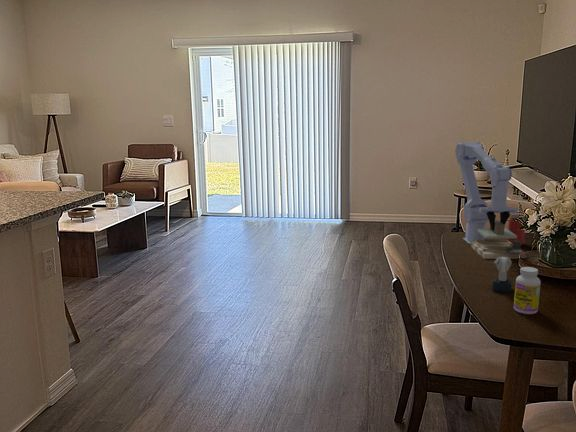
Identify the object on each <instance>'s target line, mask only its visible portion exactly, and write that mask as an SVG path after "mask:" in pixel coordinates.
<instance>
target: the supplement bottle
mask: <svg viewBox="0 0 576 432" xmlns="http://www.w3.org/2000/svg"><path fill="white" fill-rule="evenodd" d="M519 273H520V275H518V276H517V277H516V278H515V286H514V297H513V309H514V311H516V312H517V313H520V314H524V315H534V314H537V313H538V310H539V305H540V304H539V303H540V302H539V301H540V292H541V283H542V282H541V280H540V278H539V277H538V275H539V269H538V268H536V267H532V266H523V267H520V272H519Z"/></svg>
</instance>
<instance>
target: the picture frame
mask: <svg viewBox="0 0 576 432" xmlns="http://www.w3.org/2000/svg"><path fill="white" fill-rule="evenodd" d="M509 246H513V244H512V243H511V242H509V241H508V240H507V239H484V240H474V241H473V242H471V244H470V247H471V248H472V250H474V251H475V252H476V253H477V254H478V255H479V256H480V257H481V258H483V259H484V260H485V259H486V260H487V259H490V260H491V259H493V260H494V259H495V260H496V259H497V258H498V257H507V258H509V259H510V260H511V259H513V260H514V259H517V260H519V259H518V257H519V255H520V254H522V253H525V251H524V250H521V249H520V252H513V251H511V250H510V248H509Z"/></svg>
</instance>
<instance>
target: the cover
mask: <svg viewBox="0 0 576 432" xmlns="http://www.w3.org/2000/svg"><path fill="white" fill-rule="evenodd" d="M505 226H506V224H505V225H504V224H502V223H501V222H500V220H495V223H494V231H492V230H491V227H490V226H489V228H485V229H477V231H478V232H479V233H480V234H481V235H483V236H484V237H485V238H484V239H507V238H517V235H515V234H514V233H512V232H511V231H509V230H508V228H505Z"/></svg>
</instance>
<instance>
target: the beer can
mask: <svg viewBox="0 0 576 432" xmlns="http://www.w3.org/2000/svg"><path fill="white" fill-rule="evenodd" d="M518 217H519V215H517V214H513V215H510V217H509V218H508V225H507V226H508V227H507V229H508V230H509V231H511V232H512V233H514V234H515V235H517V238H506V240H508V241H509V242H511V243H512V244H513V241H521V246H522V245H524V243H525V233H526V229H525V230H518V229H519V228H520V227H521V226H522V224H521V223H519V222H513V221H514V220H516V219H517V218H518Z"/></svg>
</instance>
